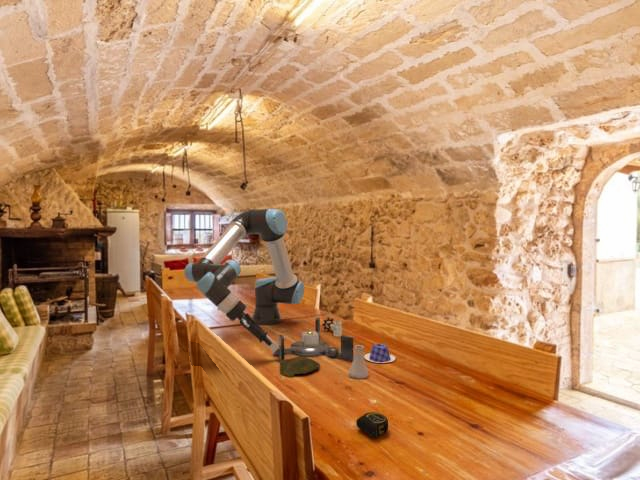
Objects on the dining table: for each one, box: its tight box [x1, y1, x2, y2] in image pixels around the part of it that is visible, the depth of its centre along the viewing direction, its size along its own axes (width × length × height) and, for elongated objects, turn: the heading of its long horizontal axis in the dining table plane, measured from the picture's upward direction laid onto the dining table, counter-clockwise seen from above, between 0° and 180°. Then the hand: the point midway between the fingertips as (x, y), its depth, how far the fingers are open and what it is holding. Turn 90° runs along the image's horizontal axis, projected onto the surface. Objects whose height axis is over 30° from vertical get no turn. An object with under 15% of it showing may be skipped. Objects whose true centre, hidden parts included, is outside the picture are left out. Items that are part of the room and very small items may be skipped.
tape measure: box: [355, 411, 389, 439], centre depth 100 cm, size 7×7×4 cm
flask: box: [348, 344, 370, 379], centre depth 138 cm, size 7×7×10 cm
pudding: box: [363, 343, 397, 364], centre depth 155 cm, size 12×12×5 cm
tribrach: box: [285, 316, 354, 363], centre depth 167 cm, size 36×25×9 cm
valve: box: [321, 316, 343, 338], centre depth 190 cm, size 7×7×12 cm
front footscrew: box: [272, 334, 286, 361], centre depth 156 cm, size 11×4×9 cm, turn 15°
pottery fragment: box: [279, 356, 321, 379], centre depth 143 cm, size 14×14×4 cm
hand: (276, 349), depth 153 cm, fingers closed
